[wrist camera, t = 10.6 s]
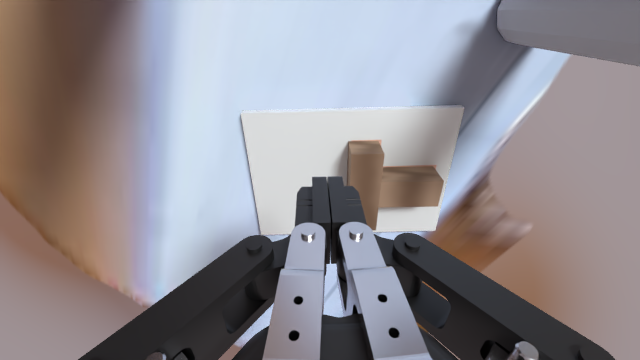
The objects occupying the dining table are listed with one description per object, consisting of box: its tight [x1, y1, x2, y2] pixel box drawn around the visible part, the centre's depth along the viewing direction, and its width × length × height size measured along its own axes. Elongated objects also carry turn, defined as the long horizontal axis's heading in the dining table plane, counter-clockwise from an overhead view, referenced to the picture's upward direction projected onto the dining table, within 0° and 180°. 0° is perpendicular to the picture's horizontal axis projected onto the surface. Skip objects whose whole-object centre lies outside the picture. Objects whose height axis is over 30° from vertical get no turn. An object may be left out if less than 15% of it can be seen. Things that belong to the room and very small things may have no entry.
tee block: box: [347, 141, 444, 230], centre depth 39 cm, size 12×12×4 cm
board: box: [241, 105, 464, 235], centre depth 42 cm, size 28×20×1 cm
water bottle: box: [497, 0, 640, 66], centre depth 20 cm, size 9×8×25 cm
